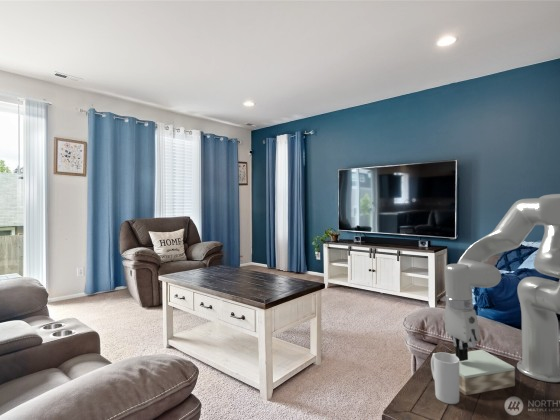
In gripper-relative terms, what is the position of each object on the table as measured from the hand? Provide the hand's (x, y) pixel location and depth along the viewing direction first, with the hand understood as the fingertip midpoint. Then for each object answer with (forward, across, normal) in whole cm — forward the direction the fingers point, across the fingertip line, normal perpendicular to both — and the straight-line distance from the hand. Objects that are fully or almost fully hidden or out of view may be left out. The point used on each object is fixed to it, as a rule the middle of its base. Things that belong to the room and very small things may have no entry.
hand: (461, 359), depth 104 cm
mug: (+7, -5, +11) cm, 14 cm away
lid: (+2, -1, -4) cm, 4 cm away
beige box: (+7, -1, -4) cm, 8 cm away
